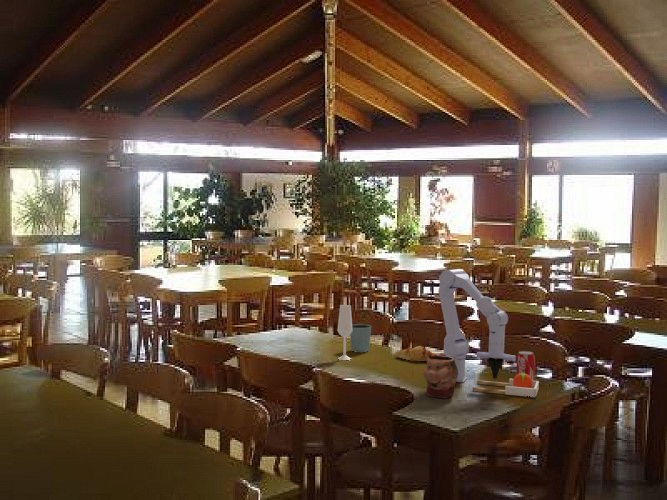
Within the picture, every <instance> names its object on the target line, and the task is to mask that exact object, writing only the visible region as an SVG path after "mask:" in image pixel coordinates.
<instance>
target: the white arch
mask: <svg viewBox="0 0 667 500" xmlns="http://www.w3.org/2000/svg"><path fill="white" fill-rule="evenodd" d="M513 380H514V378H509V379H508V383H509V386H504V390H505V394H504V395H508V396H520V397H527V396H528V398H537V395H538V392H539V387H540V385H539V384H540V381H539V380H535V381H532V386H531V388H523V387H515V386H514V384H513ZM529 396H530V397H529Z"/></svg>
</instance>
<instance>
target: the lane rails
mask: <svg viewBox="0 0 667 500" xmlns="http://www.w3.org/2000/svg"><path fill="white" fill-rule="evenodd" d="M476 384H478V385H484V386H485V385H486V386H494V387H495V386H497V387H498V386H499V387H505V386H509V382H501V381H500V382H499V381H490V380H489V381H487V380H480V379H479V380H477V382H476ZM472 392H477V393H478V392H479V393H487V394H488V393H492V394H500V395H506V394H505V389H495V388H487V387H486V388H485V387H474V386H473V387H472Z"/></svg>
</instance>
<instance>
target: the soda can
mask: <svg viewBox="0 0 667 500" xmlns="http://www.w3.org/2000/svg"><path fill="white" fill-rule="evenodd" d="M519 373H525V374H528V375H529V376H530V377H531V379H532V381H536V357H535V354H534V352H532V351H527V350H522V351H521V350H520V351H518V354H517V355H516V375H517V374H519Z"/></svg>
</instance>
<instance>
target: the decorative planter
mask: <svg viewBox="0 0 667 500" xmlns="http://www.w3.org/2000/svg"><path fill="white" fill-rule="evenodd" d="M423 377H424V379H425V381H426V393H425V394H426V395H427V396H429V397H433V398H443V399H446V398H451V397H453V395H454V393H455V388H456V380H457V377H458V368H457V366H456V363H455V360H454V358H452V357H446V355H444V356H443V355H440V356H429V357H428V358H427V362H426V365H425V367H424V369H423Z"/></svg>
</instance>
